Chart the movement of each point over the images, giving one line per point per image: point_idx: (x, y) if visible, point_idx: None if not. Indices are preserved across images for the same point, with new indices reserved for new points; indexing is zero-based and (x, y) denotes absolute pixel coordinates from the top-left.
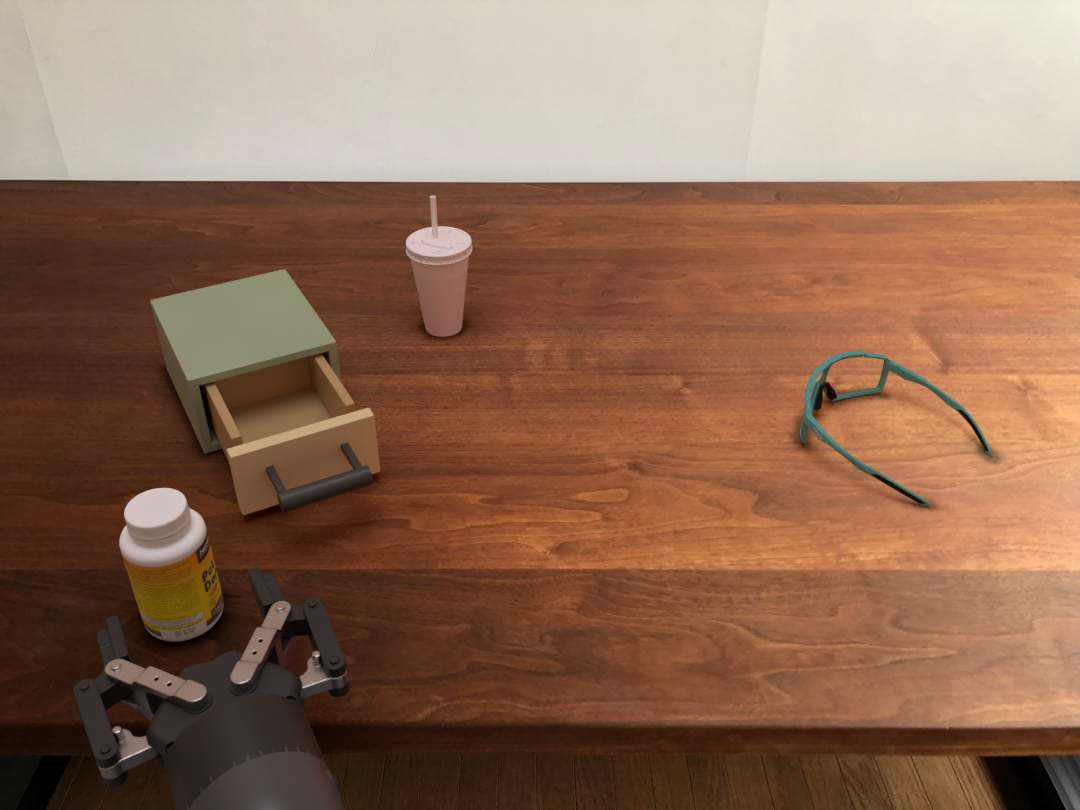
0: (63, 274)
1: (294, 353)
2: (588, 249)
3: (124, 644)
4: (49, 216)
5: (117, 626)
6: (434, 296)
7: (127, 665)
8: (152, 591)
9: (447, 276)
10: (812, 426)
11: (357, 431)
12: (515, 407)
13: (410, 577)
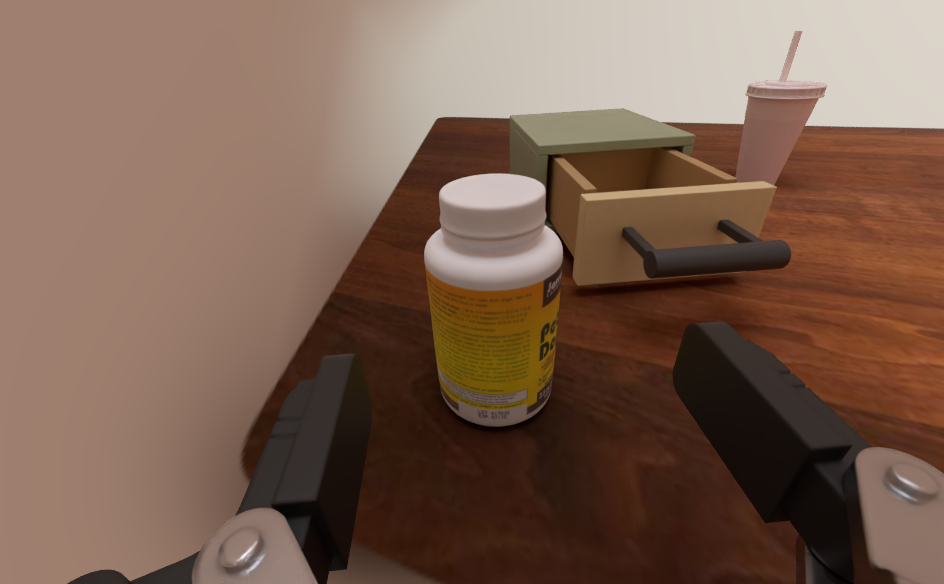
0: (453, 143)
1: (649, 139)
2: (875, 153)
3: (326, 450)
4: (453, 126)
5: (339, 383)
6: (768, 140)
7: (282, 561)
8: (458, 335)
9: (793, 116)
10: None
11: (746, 206)
12: (889, 243)
13: (861, 422)
